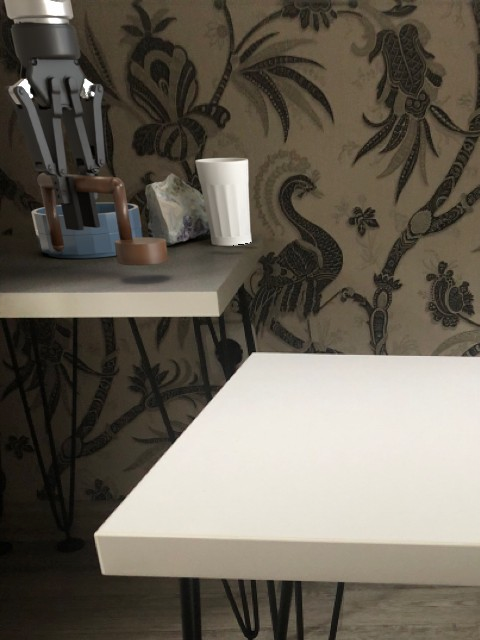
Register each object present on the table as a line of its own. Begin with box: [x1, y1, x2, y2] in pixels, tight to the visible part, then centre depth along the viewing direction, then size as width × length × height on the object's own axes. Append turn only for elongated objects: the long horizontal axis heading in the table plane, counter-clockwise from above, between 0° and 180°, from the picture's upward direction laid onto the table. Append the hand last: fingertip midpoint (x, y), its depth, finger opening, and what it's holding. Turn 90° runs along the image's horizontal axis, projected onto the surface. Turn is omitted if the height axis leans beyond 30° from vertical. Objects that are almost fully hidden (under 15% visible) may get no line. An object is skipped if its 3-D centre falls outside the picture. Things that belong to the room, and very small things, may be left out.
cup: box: [194, 157, 253, 247], centre depth 144 cm, size 8×8×12 cm
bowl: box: [31, 202, 144, 259], centre depth 140 cm, size 15×15×6 cm
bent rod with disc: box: [37, 172, 169, 267], centre depth 121 cm, size 21×6×10 cm, turn 58°
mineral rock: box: [144, 172, 210, 247], centre depth 147 cm, size 13×11×10 cm
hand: (83, 227), depth 124 cm, fingers closed on bent rod with disc, 2 cm apart
